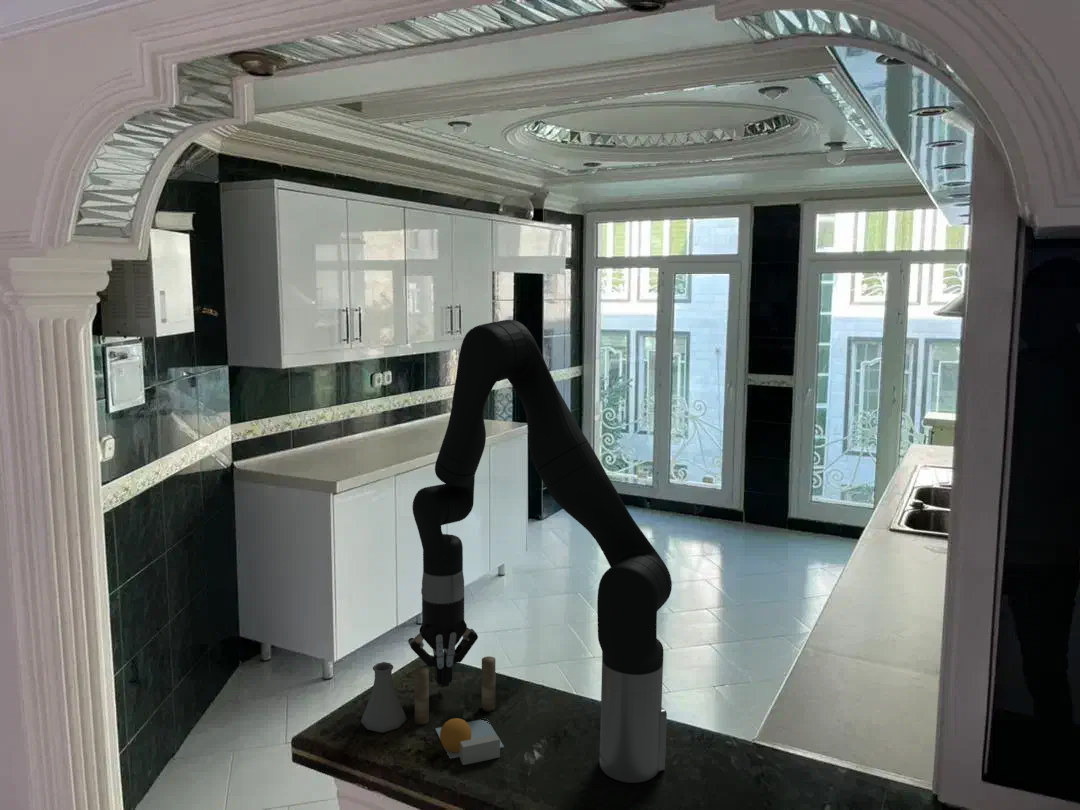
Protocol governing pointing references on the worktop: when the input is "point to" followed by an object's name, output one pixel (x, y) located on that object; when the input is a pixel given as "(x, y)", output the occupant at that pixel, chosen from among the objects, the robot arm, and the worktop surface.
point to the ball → (454, 734)
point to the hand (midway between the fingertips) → (443, 684)
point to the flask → (383, 702)
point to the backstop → (479, 749)
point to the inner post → (488, 683)
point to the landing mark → (474, 734)
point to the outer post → (421, 695)
